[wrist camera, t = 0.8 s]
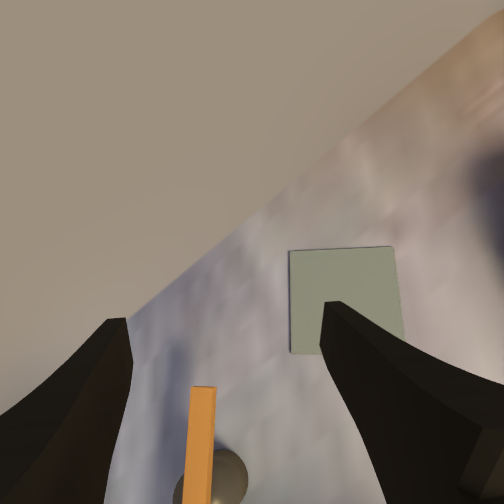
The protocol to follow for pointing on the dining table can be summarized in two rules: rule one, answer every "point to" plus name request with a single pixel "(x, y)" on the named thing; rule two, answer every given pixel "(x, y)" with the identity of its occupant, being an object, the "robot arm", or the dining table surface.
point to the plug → (222, 479)
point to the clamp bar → (199, 446)
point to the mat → (342, 291)
